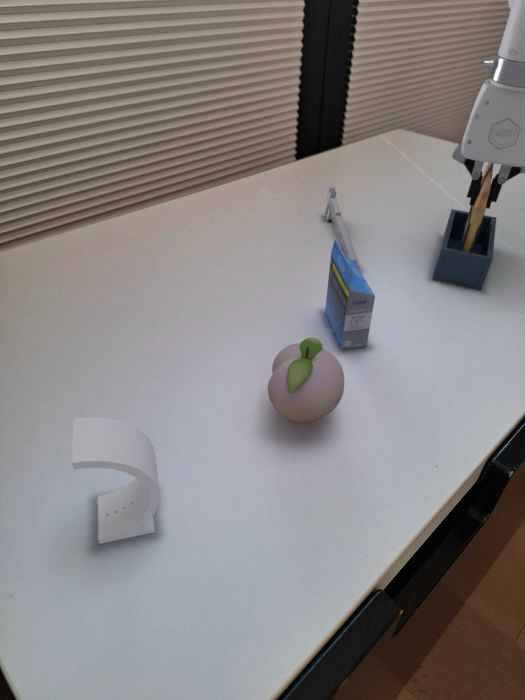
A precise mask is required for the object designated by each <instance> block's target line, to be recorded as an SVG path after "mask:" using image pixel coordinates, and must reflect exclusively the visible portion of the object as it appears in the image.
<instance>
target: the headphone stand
mask: <svg viewBox="0 0 525 700" xmlns="http://www.w3.org/2000/svg"><path fill="white" fill-rule="evenodd" d="M71 443H72V445H71V465H72V468H73V470H74V471H75V470H80V469H108V470H115V471H120V472H123V473H126V474H128V475H131V476H132V477H135V478H134V479H133V480H132V481H131V482H129V483H128V484H126V485H124V486H123V487H122V488H119V489H116V490H114V491H111V492H109V493H106V494H102V495H99V496H97V540H98V543H99V545H101V544H106V543H111V542H116V541H120V540H124V539H126V540H127V539H130V538H134V537H140V536H144V535H149V534H154V533H156V529H155V519H154V515H155V514H156V512H157V510H158V509H159V505H160V501H161V494H160V493H161V492H160V491H161V490H160V485H159V475H158V467H157V458H156V451H155V447H154V445H153V443H152V441H151V440H150V438H149V437H148V436H147V435H146V434H145V433H144V432H143V431H141V430H140V429H138V428H137V427H135V426H134V425H131V424H129V423H127V422H123V421H121V420H117V419H112V418H107V417H98V416H97V417H95V416H93V417H92V416H91V417H76V418H73V419H72V442H71Z"/></svg>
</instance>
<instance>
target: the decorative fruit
mask: <svg viewBox="0 0 525 700" xmlns="http://www.w3.org/2000/svg"><path fill="white" fill-rule="evenodd" d="M271 373H272V374H271V376H270V378H269V380H268V383H267V395H268V399H269V401H270V403H271V405H272V407H273V408H274V410H275V411H276V412H277V413H278V414H279V415H280V416H282V417H283V418H284V419H285V420H287V421H290V422H293V423H297V424H308V423H313V422H316V421H319V420H321V419H322V418H324V417H326V416H327V415H329V414H330V413H332V412H333V411H334V410H335V409H336V408H337V407H338V405H339V404H340V402H341V401H342V398H343V396H344V393H345V392H344V391H345V375H344V370H343V367H342V364H341V362H340V361H339V360H338V358H337V357H336V356H335V355H334V354H333V353H332V352H330V351H329V350H327V349H325V348H323V343H322V342H321V340H319V339H318V338H316V337H307V338H305V339H303V340H302V341H300V342H296V343H292V344H289V345H287V346H285V347H283V348H282V349H281V350H280V351H279V352H278V353H277V355H276V356H275V357H274V360H273V362H272V368H271Z"/></svg>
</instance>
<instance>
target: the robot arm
mask: <svg viewBox="0 0 525 700" xmlns="http://www.w3.org/2000/svg"><path fill="white" fill-rule="evenodd" d="M507 5H508V7H509V10H510V11H509V15H508V19H507V22H506V25H505V29H504V31H503V35H502V39H501V42H500V45H499V49H498V53H497V55H496V57H494V58H493V59H492V58H491V59H484V61H483V64H482V68H481V72H486V73H488V74H489V76H491V77H490V78H488V79H486V80H484V82H483V83H482V85H481V88H480V89H479V91H478V94H477V96H476V99H475V102H474V104H473V107H472V110H471V111H470V116H469V118H468V121H467V124H466V128H465V131H464V134H463V136H462V137H463V138H462V139H461V141H460V142H459V143H458V145H457V146H456V147H455V149H454V151H453V152H452V154H451V155H452V156H451V158H452V159H453V160H455V161H457V162H458V163H460V164H462V165H463V166H464V167H465V168H466V170H467V172H468V173H469V175H470V176H471V181H470V185H469V188H468V191H467V194H466V198H470V200H469V206H470V207H471V206H473V205H474V204H475V201H476V198H477V195H478V192H479V189H480V186H481V183H482V177H483V174H484V172H483V167H484V165H485V164H484V163H494V165H495V164H496V165H500V168H499V171H498V173H496V174H495V176H494V177H492V180H491V188H490V193H489V196H488V200H487V204H486V210H487V209H488V210H490V208H491V206H492V203H497V201H498V199H499V195H500V193H501V190H502V187H503V185H504V184H505V183H507V181H509V180H511V179H513V178H514V177H516V176H518V175H520V174H525V0H507Z"/></svg>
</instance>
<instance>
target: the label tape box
mask: <svg viewBox="0 0 525 700" xmlns="http://www.w3.org/2000/svg"><path fill="white" fill-rule="evenodd" d="M330 251H331V252H330V262H329V269H328V270H329V271H328V279H327V290H326V299H325V306H324V307H325V309H324V313H325V314H326V317H327V319H328V322H329V324H330V326H331V328H332V331H333V333H334V335H335V338H336V340H337V342H338V345H339V346H340V349H341V350H345V349H356V348H363V347H367V346H368V341H369V334H370V328H371V322H372V317H373V311H374V305H375V299H376V295H375V294H374V292H373V290H372V288H371V287H370V285H369V284H368V282H367V280H366V278H365V277H364V276H363V273H362V272H361V270H360V268H359V267H357V266H358V264H357V265H356V263H357V262H356V263H355V261H353V260H350V259H347V258H346V255H345V252H344V250H343V248H342V247H341V245H340V244H339V241H338V238H337V236H335V237H334V241H333V245H332V248H331V250H330Z"/></svg>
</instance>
